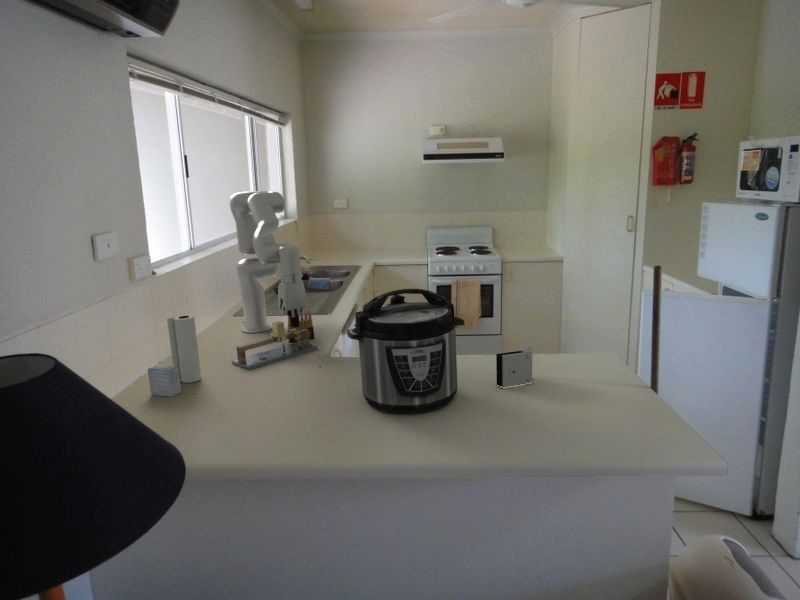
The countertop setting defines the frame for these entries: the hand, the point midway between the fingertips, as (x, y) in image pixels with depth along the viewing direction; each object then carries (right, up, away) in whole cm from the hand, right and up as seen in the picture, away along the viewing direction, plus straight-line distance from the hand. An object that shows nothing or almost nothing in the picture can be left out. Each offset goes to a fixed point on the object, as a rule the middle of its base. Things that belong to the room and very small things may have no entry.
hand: (295, 326), depth 215 cm
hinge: (+75, -15, -43) cm, 88 cm away
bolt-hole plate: (-6, -11, -5) cm, 13 cm away
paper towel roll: (-29, -16, -28) cm, 43 cm away
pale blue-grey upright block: (-32, -19, -39) cm, 54 cm away
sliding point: (-5, -9, -4) cm, 11 cm away
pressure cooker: (+43, -18, -53) cm, 70 cm away
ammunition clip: (0, -7, +15) cm, 16 cm away
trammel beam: (-6, -9, -6) cm, 12 cm away
